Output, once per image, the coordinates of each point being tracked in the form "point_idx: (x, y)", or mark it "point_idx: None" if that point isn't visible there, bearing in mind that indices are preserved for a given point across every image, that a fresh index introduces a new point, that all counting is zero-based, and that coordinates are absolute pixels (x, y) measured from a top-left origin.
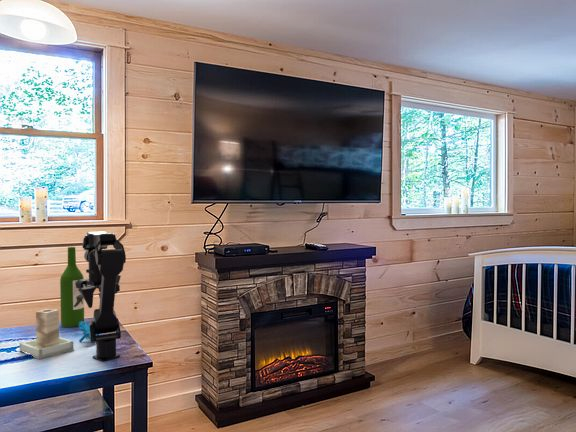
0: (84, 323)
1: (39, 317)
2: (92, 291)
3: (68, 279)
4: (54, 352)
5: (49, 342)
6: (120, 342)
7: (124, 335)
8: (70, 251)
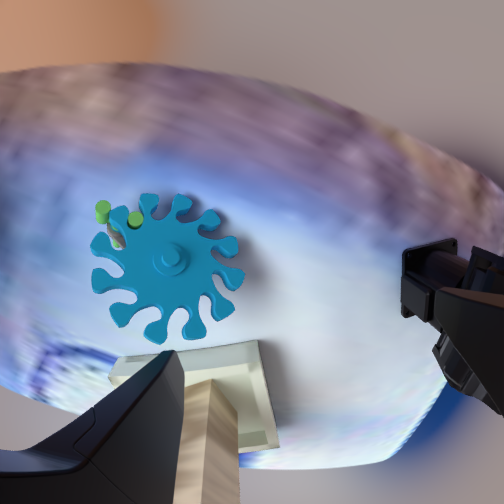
0: (109, 287)
1: None
2: (83, 498)
3: None
4: (270, 401)
5: (232, 426)
6: (304, 143)
7: (200, 78)
8: None
